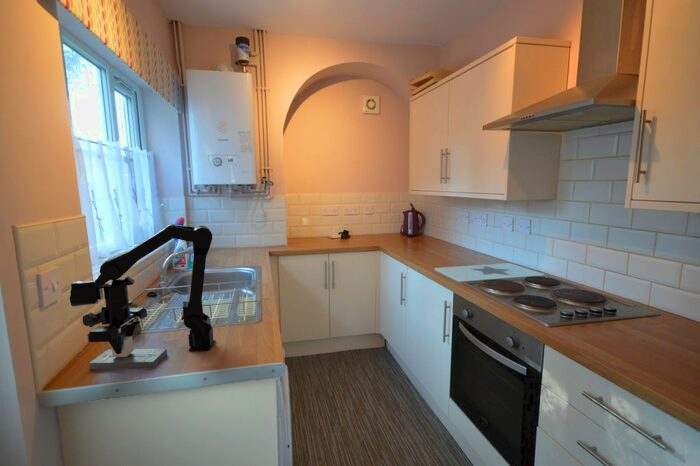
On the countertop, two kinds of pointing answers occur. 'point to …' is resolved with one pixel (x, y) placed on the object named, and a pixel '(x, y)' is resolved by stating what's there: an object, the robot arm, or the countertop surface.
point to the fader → (125, 347)
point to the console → (129, 359)
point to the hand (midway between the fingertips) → (122, 350)
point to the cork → (136, 317)
